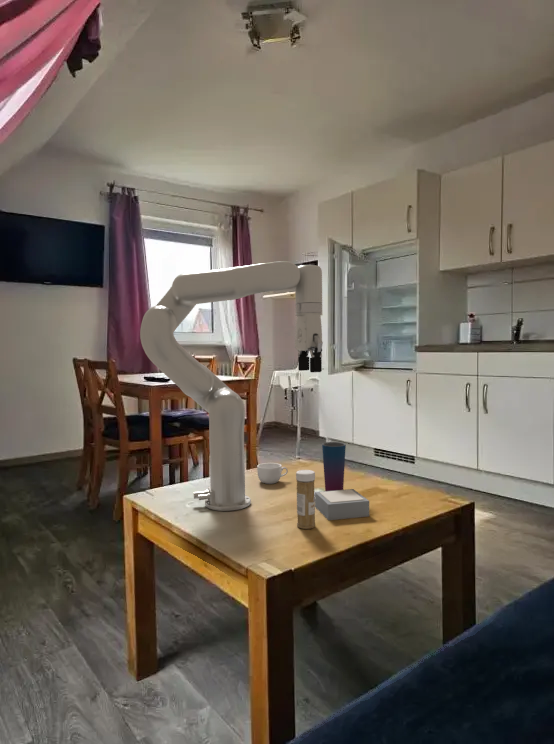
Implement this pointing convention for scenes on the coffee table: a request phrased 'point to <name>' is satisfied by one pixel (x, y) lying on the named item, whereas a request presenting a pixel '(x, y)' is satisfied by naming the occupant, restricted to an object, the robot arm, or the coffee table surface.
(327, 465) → the cup
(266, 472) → the teacup
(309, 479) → the sprinkles bottle
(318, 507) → the base
